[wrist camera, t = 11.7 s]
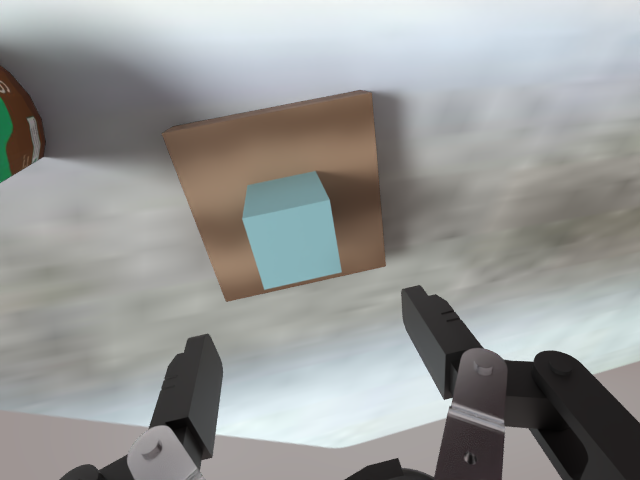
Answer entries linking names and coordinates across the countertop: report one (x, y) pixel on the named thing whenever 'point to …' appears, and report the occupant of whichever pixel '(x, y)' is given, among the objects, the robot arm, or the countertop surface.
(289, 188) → the teal block
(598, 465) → the robot arm
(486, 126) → the countertop surface
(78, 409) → the countertop surface
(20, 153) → the food container
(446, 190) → the countertop surface
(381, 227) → the walnut base
